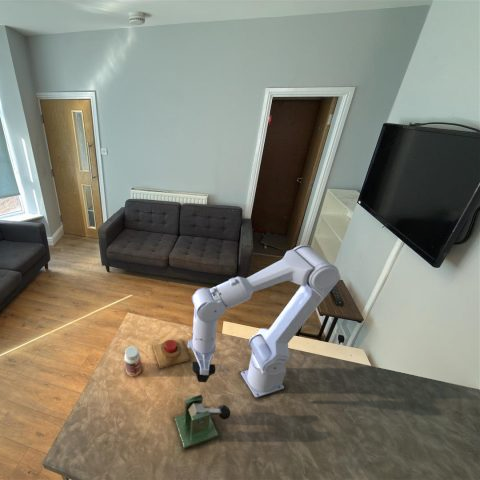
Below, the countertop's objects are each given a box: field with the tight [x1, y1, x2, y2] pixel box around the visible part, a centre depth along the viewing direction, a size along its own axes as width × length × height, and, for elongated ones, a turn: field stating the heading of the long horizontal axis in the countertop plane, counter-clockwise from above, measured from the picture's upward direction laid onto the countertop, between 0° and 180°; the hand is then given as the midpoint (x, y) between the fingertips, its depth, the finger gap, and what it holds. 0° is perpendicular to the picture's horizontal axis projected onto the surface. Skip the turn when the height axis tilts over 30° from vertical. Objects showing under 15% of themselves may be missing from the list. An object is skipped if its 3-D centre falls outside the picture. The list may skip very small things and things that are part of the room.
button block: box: [152, 338, 191, 369], centre depth 86 cm, size 10×8×3 cm
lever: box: [188, 403, 231, 421], centre depth 65 cm, size 12×3×3 cm, turn 107°
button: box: [165, 339, 176, 353], centre depth 85 cm, size 4×4×2 cm
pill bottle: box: [124, 345, 142, 377], centre depth 80 cm, size 5×5×8 cm
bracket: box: [174, 394, 219, 450], centre depth 65 cm, size 9×7×9 cm
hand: (201, 367), depth 72 cm, fingers open, 7 cm apart
